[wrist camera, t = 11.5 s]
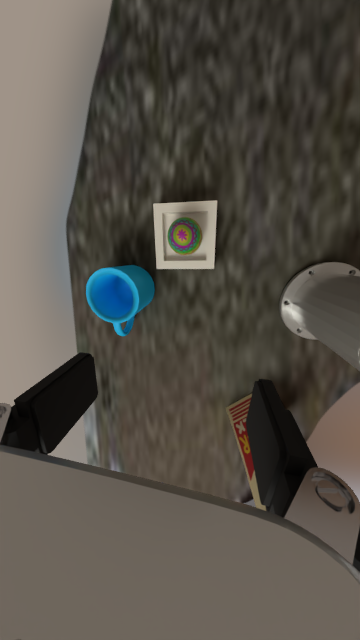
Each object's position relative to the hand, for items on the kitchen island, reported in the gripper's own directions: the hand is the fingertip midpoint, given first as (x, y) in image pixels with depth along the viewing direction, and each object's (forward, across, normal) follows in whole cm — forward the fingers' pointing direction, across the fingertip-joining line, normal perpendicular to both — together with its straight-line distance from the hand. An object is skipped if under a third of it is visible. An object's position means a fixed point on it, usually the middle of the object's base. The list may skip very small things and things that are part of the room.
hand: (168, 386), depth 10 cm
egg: (+22, +3, -9) cm, 24 cm away
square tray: (+24, +3, -10) cm, 26 cm away
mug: (+24, +12, +1) cm, 27 cm away
